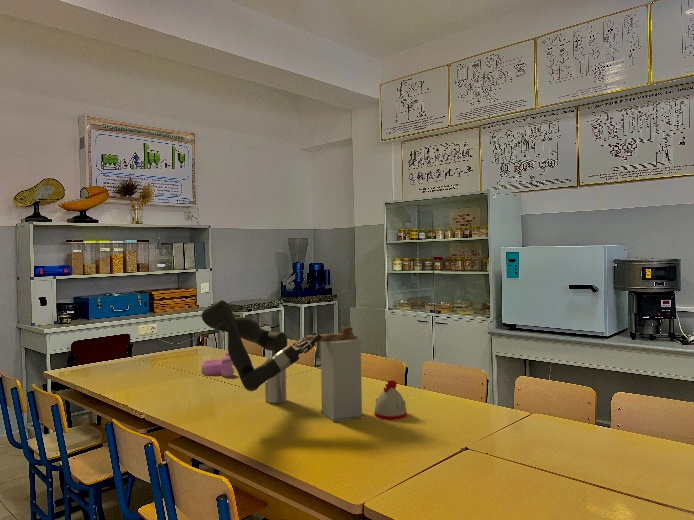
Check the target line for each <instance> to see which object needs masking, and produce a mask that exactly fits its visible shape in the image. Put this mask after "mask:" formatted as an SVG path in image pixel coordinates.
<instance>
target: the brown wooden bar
mask: <svg viewBox="0 0 694 520" xmlns="http://www.w3.org/2000/svg"><path fill="white" fill-rule="evenodd" d="M316 335H317V334H316ZM316 335H311V334H309V335H308V334H307V335H304V337H305V341H309V340H310V339H312V338H313V337H315V336H316ZM354 335H355V334H354V332H353V327H351V326H342V327H341V326H340V332H335V333H334V332H333V333H332V332H331V333H321V334H320V336H321V337H322V338H321V339H320V340H319V341H317V342H316V343H321V342H325V341H336V340H348V339H354Z"/></svg>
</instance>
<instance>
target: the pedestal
mask: <svg viewBox="0 0 694 520" xmlns="http://www.w3.org/2000/svg"><path fill="white" fill-rule="evenodd" d="M361 342H362V341H361V339H359V337H358V335H355V334H354V339H348V340H336V341H325V342H320V373H321V374H320V376H321V377H320V378H321V379H320V380H321V382H320V383H321V384H320V385H321V409H320V410H319V412H321V413H320V414H321V415H323V414H324V415H325V416H324V415H323V416H324V417H326V418H327V417H328V418H329V419H330V420H329V419H328V418H327V419H328V420H329V421H331V420H332V421H333V422H332V421H331V422H332V423H335V422H334V421H338V422H343V421H342V420H345V421H349V420H348V419H351V420H355V419H354V418H358V419H363V418H362V417H365V416H364V414H363V399H362V398H363V397H362V394H363V393H362V389H363V387H362V346H361V345H362V343H361Z"/></svg>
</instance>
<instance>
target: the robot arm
mask: <svg viewBox="0 0 694 520" xmlns="http://www.w3.org/2000/svg"><path fill="white" fill-rule="evenodd" d="M201 320H202V321H203V322H204V325H206V326H208V327H210V329H214V330H218V331H222V332H225V333H227V353H229V356H230V358H231V361H232V363H233V366H234V367H233V368H235V370H236V372H237V373H238V376H239V379H240V381H241V384H242V385H243V387H244V390H246V391H248V392H254V391H257V390H258V389H259V388H260V387H261V385H263V384H264V391H265V392H264V394H265V395H264V396H265V402H266V403H267V402H268V403H269V404H281V403H285V402H287V369H288V368H289V367H291V366H292V365H293V364H296V363H297V362H298V361H299V360H300V357H299V355H301V354H307V353H308V352H310V350H312V349H313V348H314V347H315V346H316V343H318V342H317V341H319V340H320V339H321V338H322V337H321V336H320V334H319V333H318V334H317V333H316V332H315V331H314V332H312V333H311V334H310V335H316V336H315V337H313V338H312V339H310V340H309V341H305V336H303V337H302V338H299V340H296V341H295V342H292V345H293V346H292V345H291V344H288V336H287V334H286V333H285V332H282V331H273V330H271V331H270V330H266V329H263V328H261V326H260V325H259V323H258V322H257V321H255V320H253V319H250V318H249V317H244V316H234V312H233V310H232V308H231V307H230V304H229V303H227V301H225V300H223V299H220V300H217V301H216V302H214V303H212V304H211V305H209V306H208V307H207V308H205V309H204V310H203V311H202V313H201ZM242 339H243V340H245V341H247V342H250V343H254V344H256V345H258V346H260V347H261V348H263V349H265V350H266V351H271V352H274V353H273V354H274V355H272V356H271V357H269V358H267V359H266V361H264V362H263V363H262V364H261V365H259V366H257V367H256V368H254V366H253V363H252V359H251V357H250V355H249V354H248V351H247V349H246V347H245V345H244V343H243V340H242Z"/></svg>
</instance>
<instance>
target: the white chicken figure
mask: <svg viewBox="0 0 694 520" xmlns="http://www.w3.org/2000/svg"><path fill="white" fill-rule="evenodd" d="M397 384H398V382H397V381H395V379H392V380H387V383H385V387H383V390H382V391H381V392H380V393H379V395H378V396H377V398H375V405H374V417H375V416H376V417H375V418H377V417H378V418H377V419H379V418H381V419H380V420H384V419H386V420H385V421H396V420H395V419H398V420H401V418H402V419H404V417H405V418H406V417H407V416H408V415H407V413H408V412H407V406H406V401H405V400H404V398H403V396H402V395H401V393H400V392H399V391H398V390H397V389H396V388H397ZM406 415H407V416H406Z"/></svg>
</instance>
